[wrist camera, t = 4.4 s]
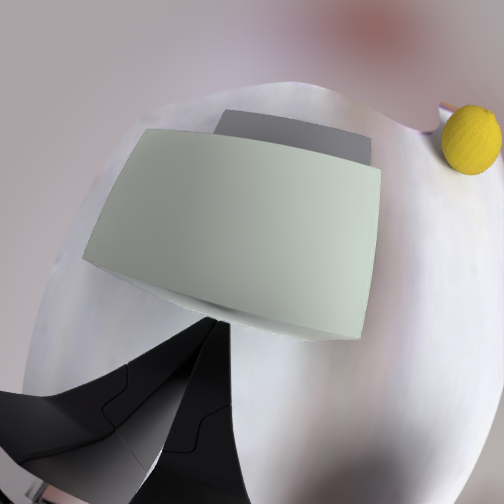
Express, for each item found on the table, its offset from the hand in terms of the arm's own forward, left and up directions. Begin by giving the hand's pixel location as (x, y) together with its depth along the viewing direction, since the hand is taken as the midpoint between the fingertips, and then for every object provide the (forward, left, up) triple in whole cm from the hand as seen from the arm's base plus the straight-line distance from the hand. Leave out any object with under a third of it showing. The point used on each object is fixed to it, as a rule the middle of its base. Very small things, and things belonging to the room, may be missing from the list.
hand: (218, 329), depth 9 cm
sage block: (+3, -1, -8) cm, 9 cm away
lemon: (+14, -20, -8) cm, 26 cm away
